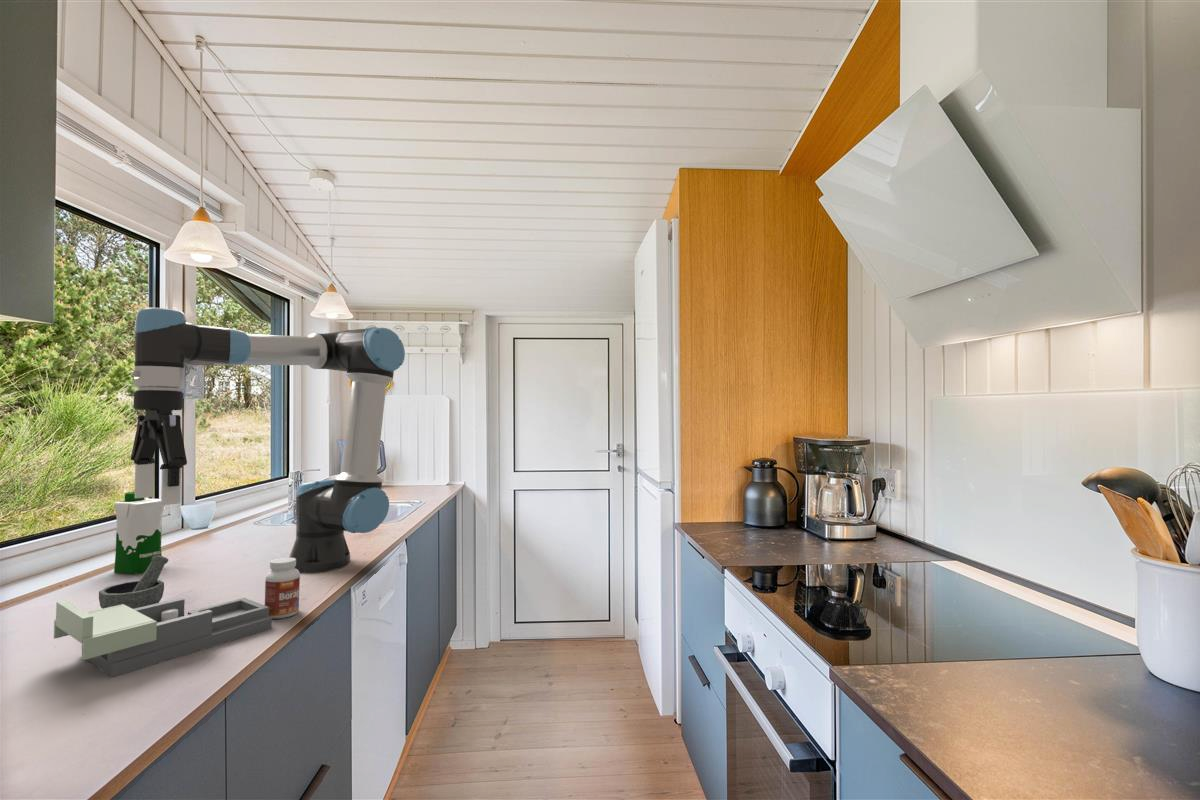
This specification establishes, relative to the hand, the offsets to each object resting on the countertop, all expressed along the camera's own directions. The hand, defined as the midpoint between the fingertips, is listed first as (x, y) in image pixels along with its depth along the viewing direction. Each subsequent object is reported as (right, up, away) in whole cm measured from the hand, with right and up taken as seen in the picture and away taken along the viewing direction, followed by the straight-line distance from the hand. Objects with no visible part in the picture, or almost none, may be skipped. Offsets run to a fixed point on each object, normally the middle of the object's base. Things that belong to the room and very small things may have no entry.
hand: (156, 500), depth 106 cm
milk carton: (-36, -25, +39) cm, 58 cm away
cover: (+3, -20, -15) cm, 25 cm away
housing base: (+9, -24, -6) cm, 27 cm away
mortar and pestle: (-7, -25, +4) cm, 26 cm away
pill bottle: (+19, -25, +8) cm, 33 cm away
